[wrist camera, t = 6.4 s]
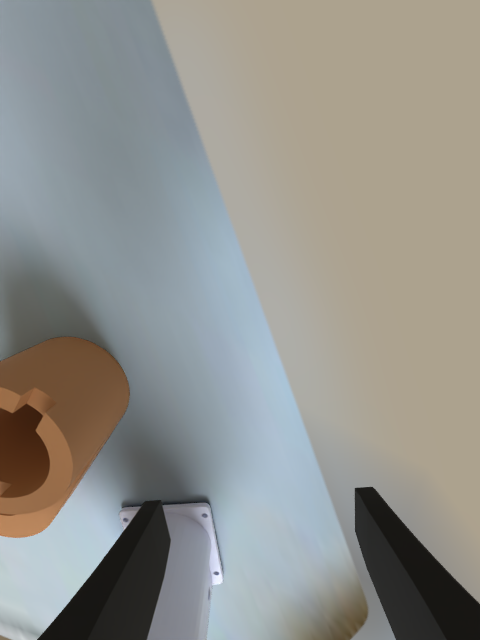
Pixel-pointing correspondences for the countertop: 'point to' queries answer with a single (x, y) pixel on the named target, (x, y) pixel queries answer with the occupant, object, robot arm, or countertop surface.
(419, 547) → the robot arm
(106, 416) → the bracket
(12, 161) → the countertop surface
